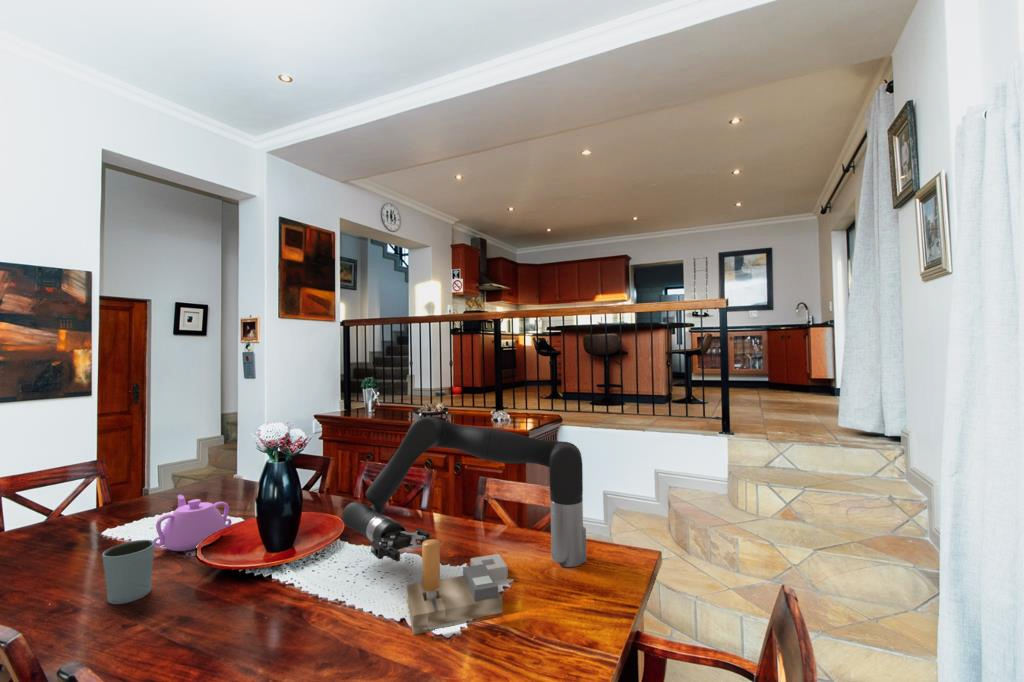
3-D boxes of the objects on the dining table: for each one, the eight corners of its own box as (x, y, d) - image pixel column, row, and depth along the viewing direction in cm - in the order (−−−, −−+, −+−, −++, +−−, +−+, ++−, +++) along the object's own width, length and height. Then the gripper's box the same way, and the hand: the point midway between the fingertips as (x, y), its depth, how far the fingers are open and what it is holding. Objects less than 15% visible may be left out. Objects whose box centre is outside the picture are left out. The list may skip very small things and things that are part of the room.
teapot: (214, 524, 166) (214, 485, 167) (242, 538, 154) (242, 496, 154) (137, 546, 148) (138, 502, 149) (163, 563, 136) (163, 515, 136)
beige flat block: (486, 587, 119) (486, 571, 119) (502, 616, 106) (502, 598, 106) (406, 601, 113) (406, 584, 113) (413, 634, 99) (413, 615, 100)
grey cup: (163, 589, 121) (163, 542, 121) (119, 609, 111) (120, 558, 111) (136, 583, 124) (137, 537, 124) (91, 602, 114) (92, 553, 115)
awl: (438, 602, 110) (438, 538, 111) (441, 611, 106) (440, 544, 107) (421, 605, 109) (421, 540, 109) (423, 614, 105) (423, 547, 106)
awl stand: (498, 568, 129) (498, 553, 130) (507, 581, 122) (507, 566, 122) (470, 573, 127) (470, 558, 127) (477, 587, 119) (477, 571, 119)
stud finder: (484, 573, 118) (484, 563, 118) (498, 597, 107) (497, 585, 107) (463, 577, 116) (463, 566, 116) (474, 601, 105) (474, 589, 105)
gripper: (359, 525, 121) (387, 544, 109) (409, 512, 131) (440, 529, 118) (359, 554, 121) (387, 577, 109) (409, 539, 130) (440, 559, 118)
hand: (415, 552), depth 114 cm, fingers open, 8 cm apart
